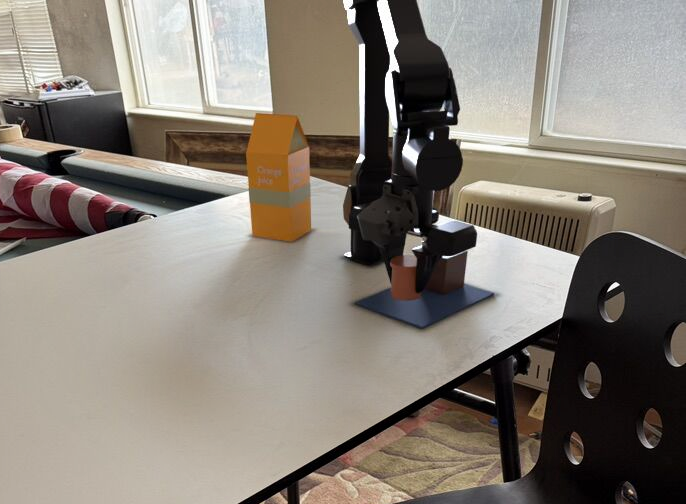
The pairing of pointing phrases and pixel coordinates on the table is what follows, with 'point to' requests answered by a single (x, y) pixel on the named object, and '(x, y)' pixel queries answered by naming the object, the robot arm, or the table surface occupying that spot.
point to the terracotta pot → (404, 278)
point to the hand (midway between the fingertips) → (406, 288)
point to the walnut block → (448, 274)
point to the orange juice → (279, 178)
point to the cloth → (424, 305)
